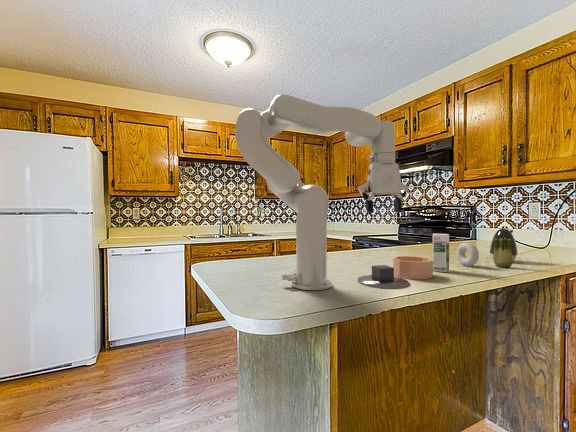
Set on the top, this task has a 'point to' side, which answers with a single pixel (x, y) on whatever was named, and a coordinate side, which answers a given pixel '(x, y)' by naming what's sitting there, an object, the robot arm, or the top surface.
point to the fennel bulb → (502, 253)
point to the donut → (472, 254)
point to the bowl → (413, 267)
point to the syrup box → (441, 252)
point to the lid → (383, 278)
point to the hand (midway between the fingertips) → (384, 212)
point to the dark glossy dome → (501, 235)
